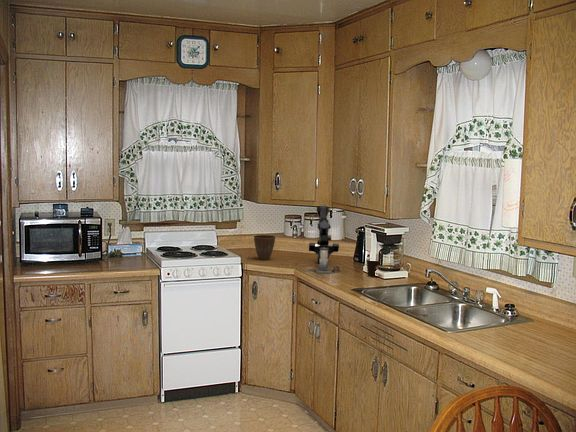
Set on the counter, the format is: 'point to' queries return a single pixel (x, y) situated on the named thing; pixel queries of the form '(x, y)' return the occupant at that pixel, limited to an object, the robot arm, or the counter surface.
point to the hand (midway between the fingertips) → (323, 258)
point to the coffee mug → (372, 267)
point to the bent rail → (336, 268)
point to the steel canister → (323, 258)
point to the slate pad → (323, 271)
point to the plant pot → (264, 246)
